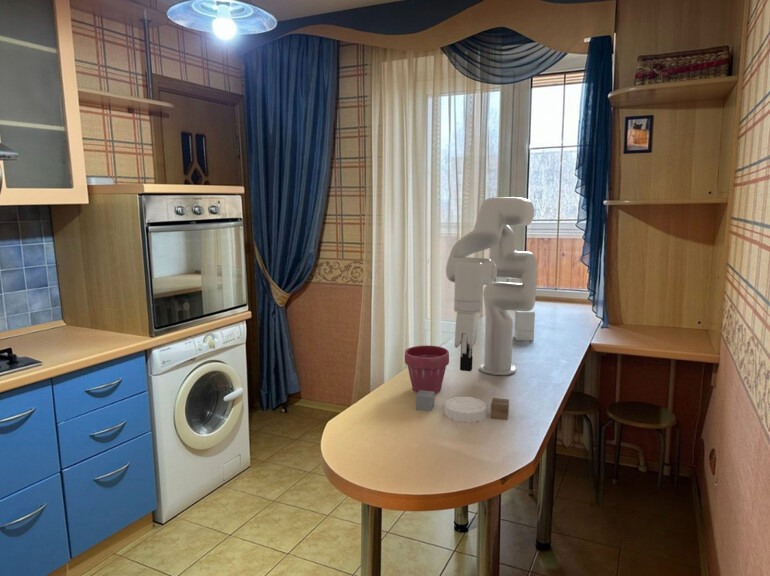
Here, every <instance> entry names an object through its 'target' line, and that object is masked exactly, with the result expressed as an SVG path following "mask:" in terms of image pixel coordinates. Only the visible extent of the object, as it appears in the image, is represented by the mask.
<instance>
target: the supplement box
mask: <svg viewBox="0 0 770 576" xmlns="http://www.w3.org/2000/svg"><path fill="white" fill-rule="evenodd" d="M535 317H536V312H535V311H534V309H532V310H530V311H514V331H513V332H514V334H513V335H514V336H513V337H514V338H515V340H516V341H517V342H518V341H522V342H523V341H526V342H528V341H529V342H530V341H534V340H535Z"/></svg>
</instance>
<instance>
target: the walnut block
mask: <svg viewBox="0 0 770 576" xmlns="http://www.w3.org/2000/svg"><path fill="white" fill-rule="evenodd" d="M509 404H510V399H509V398H500V397H499V398H498V397H492V399H491V404H490V419H492V420H499V421H500V420H501V421H508V418H509V411H510V410H509V407H510V405H509Z"/></svg>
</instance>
